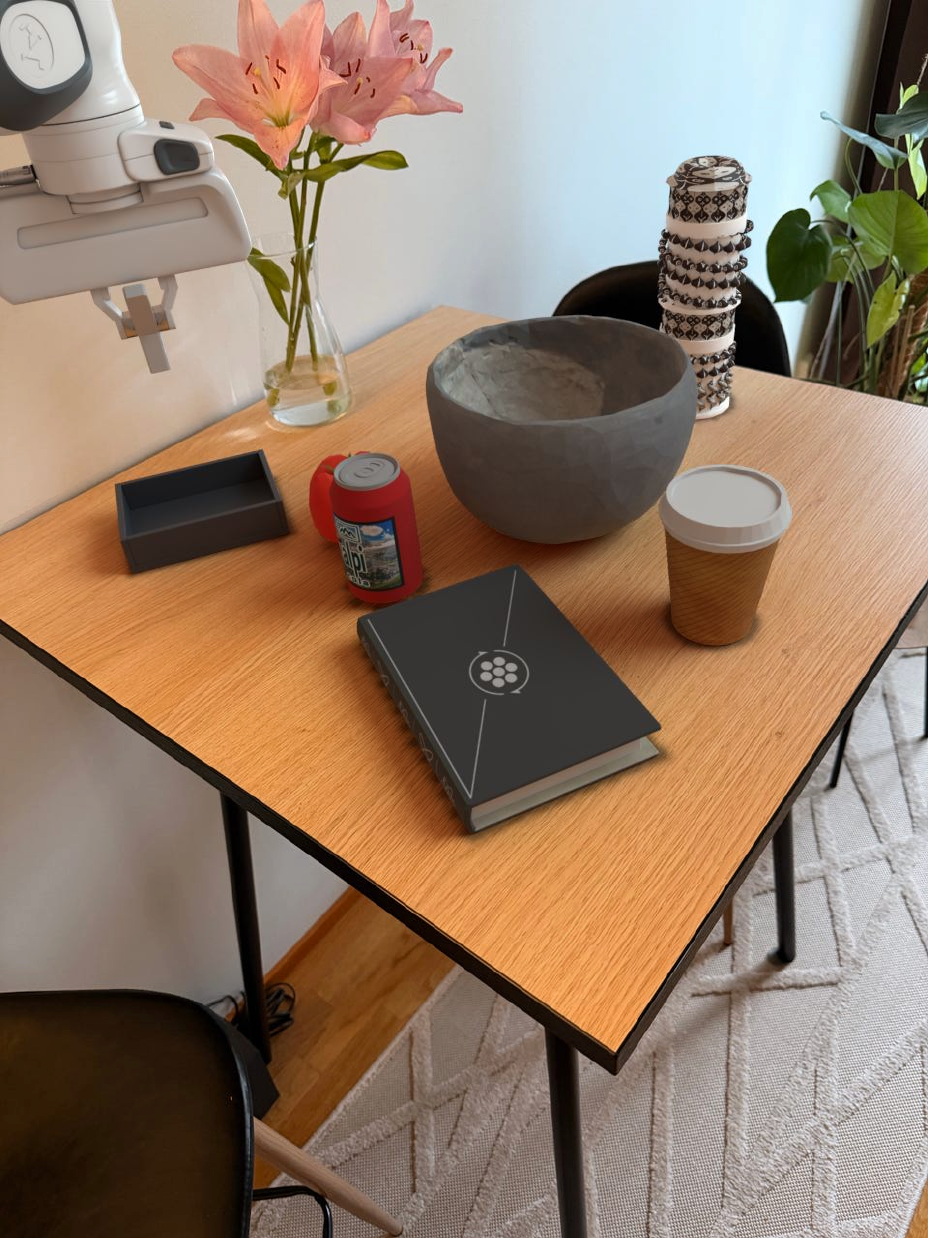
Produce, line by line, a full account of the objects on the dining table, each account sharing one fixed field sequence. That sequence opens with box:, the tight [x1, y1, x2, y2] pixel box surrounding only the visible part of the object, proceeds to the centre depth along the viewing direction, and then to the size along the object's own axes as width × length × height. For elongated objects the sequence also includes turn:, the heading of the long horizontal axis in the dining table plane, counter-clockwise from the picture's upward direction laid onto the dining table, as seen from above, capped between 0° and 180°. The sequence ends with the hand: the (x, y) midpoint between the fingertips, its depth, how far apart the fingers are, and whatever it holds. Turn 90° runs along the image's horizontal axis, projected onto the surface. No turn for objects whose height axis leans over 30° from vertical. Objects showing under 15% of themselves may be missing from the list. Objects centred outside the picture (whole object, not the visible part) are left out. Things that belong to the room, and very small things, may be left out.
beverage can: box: [329, 452, 424, 604], centre depth 77 cm, size 7×7×12 cm
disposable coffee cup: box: [657, 463, 793, 646], centre depth 70 cm, size 10×10×12 cm
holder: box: [114, 448, 291, 575], centre depth 90 cm, size 15×11×4 cm
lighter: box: [121, 282, 172, 375], centre depth 77 cm, size 7×2×8 cm, turn 19°
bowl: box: [425, 314, 698, 545], centre depth 84 cm, size 24×24×15 cm
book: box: [356, 562, 663, 835], centre depth 68 cm, size 22×15×3 cm
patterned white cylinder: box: [657, 155, 755, 421], centre depth 95 cm, size 9×9×25 cm
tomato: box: [308, 450, 372, 544], centre depth 85 cm, size 9×9×8 cm
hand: (149, 332), depth 77 cm, fingers closed on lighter, 2 cm apart
